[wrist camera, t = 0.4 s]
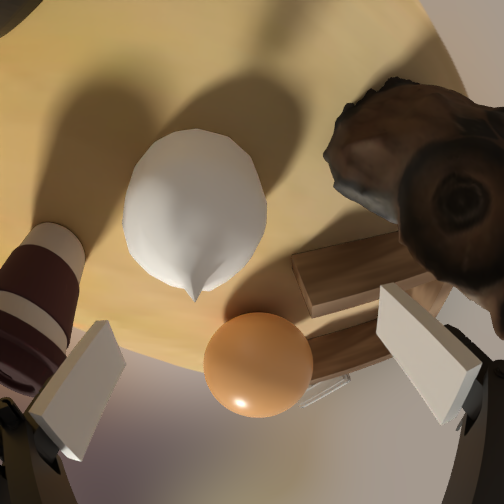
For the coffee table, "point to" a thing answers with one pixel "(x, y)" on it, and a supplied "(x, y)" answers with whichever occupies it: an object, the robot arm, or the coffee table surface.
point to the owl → (430, 180)
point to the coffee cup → (38, 306)
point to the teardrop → (194, 210)
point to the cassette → (322, 389)
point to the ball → (258, 364)
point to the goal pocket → (359, 297)
